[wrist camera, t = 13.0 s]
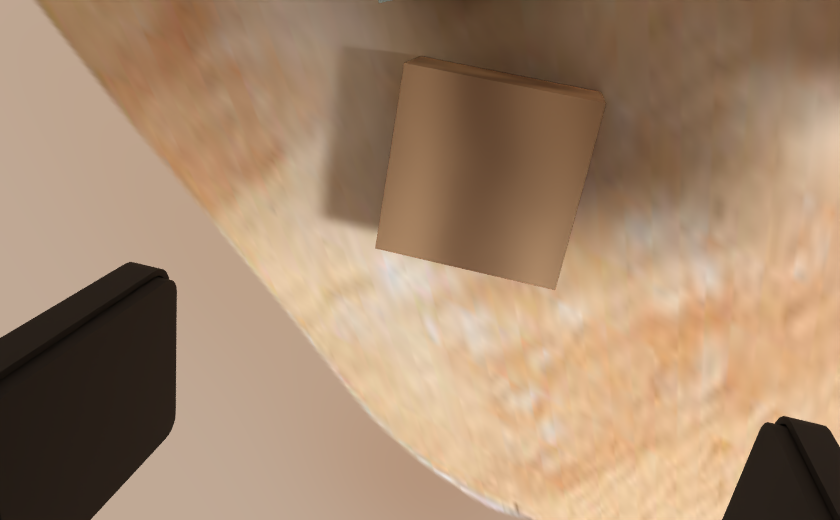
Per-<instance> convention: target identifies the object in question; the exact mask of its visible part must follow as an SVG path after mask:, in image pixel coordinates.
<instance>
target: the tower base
mask: <svg viewBox="0 0 840 520" xmlns="http://www.w3.org/2000/svg"><path fill="white" fill-rule="evenodd" d="M605 106H606V102H605V100H604V98H603V95H602V93H601V92H599V91H594V90H589V89H584V88H579V87H574V86H569V85H564V84H559V83H554V82H549V81H543V80H538V79H533V78H528V77H523V76H518V75H513V74H508V73H503V72H498V71H493V70H488V69H483V68H478V67H473V66H468V65H463V64H458V63H453V62H448V61H443V60H438V59H432V58H427V57H422V56H420V57H418V58H415V59H413V60H410V61H408V62H405V63H404V67H403V73H402V80H401V86H400V92H399V99H398V105H397V112H396V118H395V125H394V131H393V137H392V144H391V150H390V157H389V163H388V170H387V176H386V182H385V189H384V195H383V202H382V208H381V215H380V221H379V227H378V234H377V240H376V247H375V248H376V249H381V250H385V251H389V252H393V253H398V254H402V255H406V256H411V257H415V258H419V259H424V260H428V261H432V262H436V263H441V264H445V265H449V266H454V267H458V268H462V269H467V270H471V271H475V272H479V273H484V274H488V275H492V276H497V277H501V278H505V279H510V280H514V281H518V282H522V283H527V284H531V285H535V286H540V287H544V288H548V289H553V290H555V289H556V285H557V282H558V278H559V274H560V271H561V267H562V263H563V260H564V256H565V252H566V249H567V245H568V241H569V238H570V234H571V230H572V227H573V223H574V219H575V216H576V212H577V208H578V205H579V201H580V197H581V194H582V190H583V186H584V183H585V179H586V175H587V172H588V168H589V164H590V161H591V157H592V153H593V150H594V146H595V142H596V139H597V135H598V131H599V128H600V124H601V120H602V117H603V113H604V109H605Z"/></svg>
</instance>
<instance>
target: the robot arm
mask: <svg viewBox="0 0 840 520" xmlns="http://www.w3.org/2000/svg"><path fill="white" fill-rule="evenodd" d="M176 302H177V290H176V285H175V283H174V281H172V280H169V277H168V275H167V272H166V271H165V270H163V269H159V268H155V267H151V266H146V265H142V264H138V263H133V262H129V263H126V264H124V265H122V266H121V267H119V268H117V269H116V270H114V271H112V272H111V273H109V274H107V275H105V276H104V277H102V278H101V279H99V280H97V281H96V282H94V283H92V284H90V285H89V286H87V287H85V288H84V289H82V290H80V291H79V292H77V293H75V294H74V295H72V296H70V297H69V298H67V299H65V300H64V301H62V302H60V303H58V304H57V305H55V306H53V307H52V308H50V309H48V310H47V311H45V312H43V313H42V314H40V315H38V316H37V317H35V318H33V319H31V320H30V321H28V322H26V323H25V324H23V325H21V326H20V327H18V328H17V329H15V330H13V331H11V332H10V333H8V334H6V335H5V336H3V337H1V338H0V520H91V519H92V517H93V516H94V515H95V514H96V513H97V512H98V511H99V510H100V509H101V508H102V506H104V505H105V503H106V502H107V501H108V500H109V499H110V498H111V497H112V496H113V495H114V494H115V493H116V491H118V489H119V488H120V487H121V486H122V485H123V484H124V483H125V482H126V481H127V480H128V479H129V478H130V476H131V475H132V474H133V473H134V472H135V471H136V470H137V469H138V468H139V467H140V466H141V465H142V463H143V462H144V461H145V460H146V459H147V458H148V457H149V456H150V455H151V454H152V453H153V452H154V450H155V449H156V448H157V447H158V446H159V445H160V444H161V443H162V442H163V441H164V440H165V439H166V437H167V436H168V435H169V433H170V431H171V430H172V427H173V424H174V421H175V411H176V311H177V310H176V309H177V307H176V306H177V305H176V304H177V303H176ZM722 520H840V447H839V445H838V443H837V442H836V440H835V438H834V436H833V435H832V433H831V431H830V430H829V429H828V428H827V427H826V426H823V425H820V424H815V423H811V422H807V421H803V420H798V419H794V418H790V417H786V416H783V417H780V418H779V419H778V420H777V421H776V422H775V424H773V423H769V422H767V423H765V424H764V425H763V426H762V427H761V429H760V431H759V433H758V436H757V438H756V440H755V443H754V445H753V448H752V450H751V452H750V455H749V457H748V460H747V462H746V464H745V467H744V469H743V471H742V474H741V476H740V479H739V481H738V483H737V486H736V488H735V491H734V493H733V495H732V498H731V500H730V503H729V505H728V507H727V510H726V512H725V514H724V517H723V519H722Z"/></svg>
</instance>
